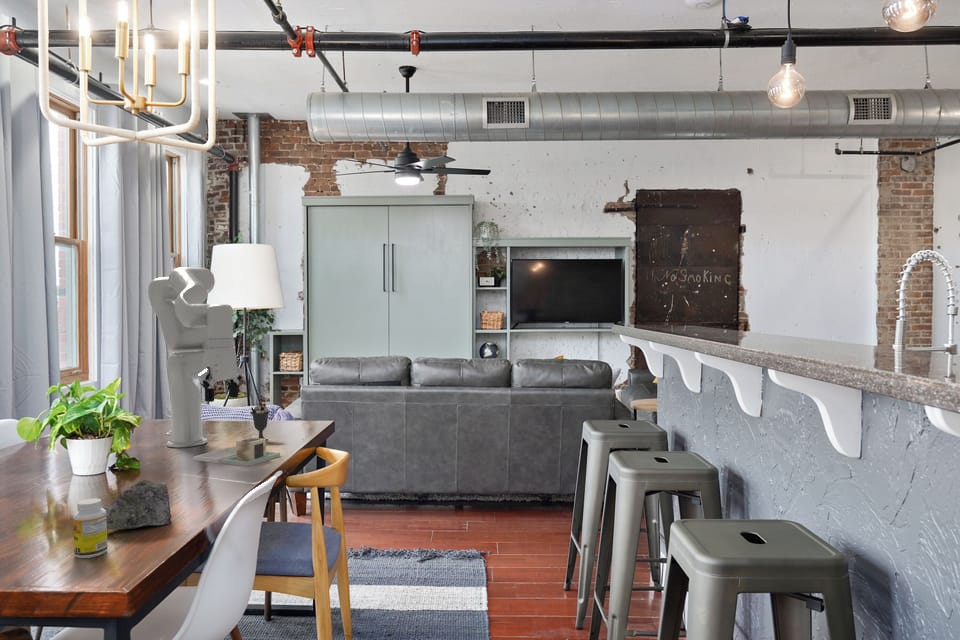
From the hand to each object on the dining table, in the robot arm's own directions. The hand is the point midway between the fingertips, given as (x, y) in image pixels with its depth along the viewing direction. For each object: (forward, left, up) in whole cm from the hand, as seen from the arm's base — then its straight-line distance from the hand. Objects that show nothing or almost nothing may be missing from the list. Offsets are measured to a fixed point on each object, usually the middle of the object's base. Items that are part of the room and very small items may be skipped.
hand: (221, 399), depth 210 cm
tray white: (0, 0, -18) cm, 18 cm away
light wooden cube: (+12, 0, -18) cm, 21 cm away
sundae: (-8, +25, -18) cm, 32 cm away
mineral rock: (+33, -56, -19) cm, 67 cm away
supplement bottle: (+39, -71, -18) cm, 83 cm away
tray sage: (+12, 0, -18) cm, 22 cm away
